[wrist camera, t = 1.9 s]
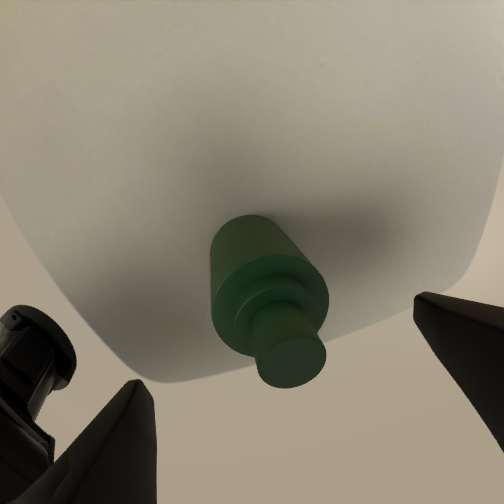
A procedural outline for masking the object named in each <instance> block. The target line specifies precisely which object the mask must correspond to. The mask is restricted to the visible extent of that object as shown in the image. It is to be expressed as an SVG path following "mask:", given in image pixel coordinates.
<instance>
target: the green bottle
mask: <svg viewBox="0 0 504 504" xmlns="http://www.w3.org/2000/svg"><path fill="white" fill-rule="evenodd" d="M210 257H211V313H212V321H213V325H214V327H215V330H216V332H217V334H218V335H219V337H220V338H221V339H222V340H223V342H224V343H225V344H227V345H228V346H229V347H230V348H232V349H233V350H235V351H237V352H239V353H241V354H244V355H247V356H251V357H255V361H256V365H257V369H258V373H259V375H260V377H261V378H262V380H263V381H264V382H266V383H267V384H269V385H270V386H273V387H277V388H293V387H297V386H300V385H303V384H305V383H307V382H309V381H310V380H312V379H313V378H314V377H316V376H317V375H318V374H319V372H320V371H321V370H322V368H323V366H324V364H325V361H326V349H325V346H324V345H323V343H322V341H321V339H320V338H319V336H318V334H317V332H318V331H319V329H320V328H321V326H322V324H323V323H324V320H325V318H326V315H327V312H328V306H329V294H328V288H327V285H326V282H325V281H324V279H323V277H322V275H321V274H320V273H319V271H318V270H317V269H316V268H315V267H314V266H313V264H312V263H311V262H310V261H309V260H308V259H307V258H306V257H305V255H304V254H303V253H302V252H301V251H300V250H299V249H298V248H297V246H296V245H295V244H294V243H293V242H292V241H291V240H290V239H289V238H288V236H287V235H286V234H285V233H284V232H283V231H282V230H281V229H280V228H279V227H278V226H277V225H276V224H275V223H274V222H272V221H271V220H269V219H267V218H264V217H261V216H257V215H245V216H240V217H237V218H235V219H233V220H231V221H229V222H227V223H226V224H225V225H224V226H222V228H221V229H220V230H219V231H218V232H217V234H216V235H215V237H214V239H213V242H212V246H211V253H210Z"/></svg>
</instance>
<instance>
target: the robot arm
mask: <svg viewBox="0 0 504 504" xmlns="http://www.w3.org/2000/svg"><path fill="white" fill-rule="evenodd" d="M15 316H16V317H15ZM413 319H414V321H415V324H416V325H417V327H418V328H419V330H420V331H421V333H422V334H423V336H424V338H425V339H426V341H427V342H428V344H429V345H430V347H431V349H432V350H433V352H434V353H435V355H436V356H437V358H438V359H439V360H440V362H441V363H442V364H443V366H444V367H445V368H446V369H447V371H448V372H449V373H450V375H451V376H452V377H453V378H454V380H455V381H456V383H457V384H458V385H459V387H460V388H461V389H462V391H463V392H464V394H465V395H466V397H467V398H468V399H469V401H470V402H471V404H472V405H473V406H474V408H475V409H476V411H477V412H478V414H479V415H480V417H481V418H482V419H483V421H484V422H485V424H486V425H487V427H488V429H489V430H490V432H491V433H492V435H493V436H494V438H495V439H496V440H497V442H498V444H499V446H500V448H501V449H502V451H503V452H504V308H503V307H498V306H494V305H489V304H483V303H479V302H474V301H469V300H464V299H459V298H455V297H450V296H445V295H441V294H436V293H431V292H422V293H420V294H418V295H416V296H415V298H414V310H413ZM67 363H68V364H67ZM72 366H73V362H72V360H71V359H70V358H69V357H68V356H66V355H65V354H64V353H63V352H62V351H60V350H59V349H58V348H57V347H56V346H55V345H53V344H52V343H51V342H50V341H49V340H48V339H47V338H46V337H44V336H43V335H42V334H41V333H40V332H39V331H38V330H37V329H36V328H35V327H34V326H33V325H32V324H31V323H30V322H29V321H28V320H27V319H26V318H25V317H24V316H23V315H22V314H21V313H20V312H19V311H17V310H15V309H14V310H12V311H11V313H10V314H9V316H8V318H7V321H6V323H5V325H4V327H3V329H2V332H1V334H0V504H157V492H156V491H157V484H156V469H157V465H156V464H157V438H156V425H155V411H154V400H153V397H152V395H151V394H150V392H149V391H148V390H147V388H146V386H145V385H144V383H143V382H142V381H141V380H140V379H136V380H130V381H128V382H127V383H126V384H125V385H124V386H123V387H122V388H121V389H120V390H119V391H118V393H117V394H116V395H115V396H114V397H113V398H112V399H111V400H110V402H109V403H108V404H107V405H106V406H105V407H104V408H103V409H102V410H101V412H100V413H99V414H98V415H97V416H96V417H95V418H94V419H93V420H92V421H91V423H90V424H89V425H88V426H87V427H86V428H85V429H84V430H83V432H82V433H81V434H80V435H79V436H78V437H77V438H76V439H75V441H74V442H73V443H72V444H71V445H70V446H69V447H68V448H67V449H66V451H64V453H63V454H62V455H61V456H60V457H59V458H58V459H57V460H56V461H55V462H54V449H55V439H54V438H53V437H52V436H50V435H48V434H47V433H46V432H44V431H43V430H42V429H41V428H40V427H39V426H38V425H37V424H36V423H35V420H36V418H37V416H38V414H39V411H40V409H41V407H42V405H43V403H44V401H45V399H46V397H47V395H49V394H50V393H51V392H52V390H53V389H54V388H55V387H56V386H57V384H58V383H59V382H60V381H61V380H62V379H63V377H64V376H65V375H66V374H67V373H68V371H69V370H70V369H71V368H72Z"/></svg>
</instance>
